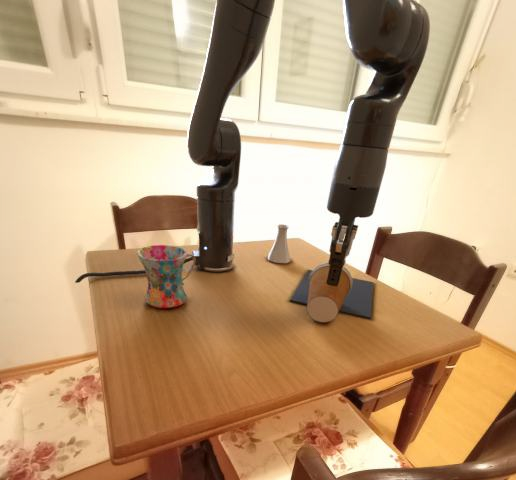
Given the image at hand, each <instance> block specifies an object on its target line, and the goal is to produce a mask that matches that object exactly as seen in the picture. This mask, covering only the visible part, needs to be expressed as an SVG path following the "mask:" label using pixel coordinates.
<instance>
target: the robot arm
mask: <svg viewBox="0 0 516 480" xmlns="http://www.w3.org/2000/svg"><path fill="white" fill-rule="evenodd" d="M275 3H276V0H216V3H215V9H214V14H213V19H212V26H211V33H210V39H209V43H208V48H207V53H206V59H205V63H204V66H203V72H202V76H201V81H200V84H199V88H198V90H197V95H196V99H195V102H194V105H193V109H192V112H191V116H190V119H189V124H188V130H187V138H186V145H187V153H188V156H189V158H190V160H191V161H192V163H194V164H195V165H197V166H201V167H212V170H211V173H210V175H209V176H208V177H206V179H204V180H202V181H199V183H198V184H197V185H196V216H197V217H196V219H197V226H196V250H192V253H191V254H192V255H193V256H194V257H195V259H196V263H195V266H198V269H199V271H206V272H210V273H212V272H213V273H221V272H228V271H230V270H231V269H233V267H234V263H233V262H234V261H233V260H234V259H235V253H234V232H235V231H234V230H235V229H234V228H235V205H236V204H235V202H236V201H235V199H236V192H237V189H238V187H239V181H240V169H241V158H242V157H241V156H242V136H241V133H240V129H239V127H238V125H237V123H235V122H234V121H233V120H232V119H228V118H223V117H222V115H223V112H224V109H225V107H226V103H227V102H228V99H229V97H230V96H231V94H232V92H234V90H235V88H236V87H237V85H238V84H239V83H240V82H241V81H242V80H243V78H244V77H245V76H246V74H247V73H248V72H249V70H250V69H251V67H253V65H254V63H255V62H256V61H257V59H258V57H259V56H260V54H261V51H262V49H263V46H264V43H265V39H266V36H267V32H268V29H269V26H270V23H271V19H272V15H273V11H274V8H275ZM342 3H343V4H342V9H343V16H344V17H343V18H344V28H345V37H346V42H347V45H348V48H349V50H350V53H351V55H352V57H353V58H354V60H355V61H356V63H357V64H358V65H360V66H361V67H362V68H364V69H368V70H370V71H373V74H372V76H371V78H370V82H369V85H368V87H367V88H366V92H365V93H363V94H360V95H357V96H355V97H354V98H353V99H352V100H351V101H350V103H349V105H348V108H347V110H346V111H347V112H346V116H345V119H344V124H343V130H342V135H341V140H340V145H339V149H338V153H337V154H336V159H335V162H334V168H333V172H332V178H331V183H330V188H329V193H328V198H327V203H326V204H327V205H326V209H327V211H328V212H330V213H332V214H335V215H338V217H339V218H338V221H335V222H334V224H332V228H331V233H330V235H331V241H330V246H329V259H328V262H329V265H330V268H329V273H328V277H327V282H326V283H327V284H328V285H331V286H338V284H339V281H340V277H341V272H342V268H343V266H344V267H345V264H346V263H347V260H346V259H347V257H348V256H350V253H351V250H352V246H353V242H354V240H355V238H356V236H357V232H358V230H359V229H358V228H359V225H358V224H355V222H356V218H361V219H362V218H363V219H364V218H369V217H371V216H372V215H373V214H374V211H375V208H376V204H377V200H378V197H379V193H380V189H381V187H382V182H383V180H384V179H383V178H384V174H385V170H386V167H387V160H388V155H389V149H390V146H391V143H392V139H393V135H394V131H395V127H396V125H397V119H398V116H399V113H400V111H401V109H402V107H403V105H404V103H405V101H406V99H407V98H408V95H409V93H410V90H411V89H412V87H413V84H414V82H415V80H416V78H417V76H418V73H419V71H420V69H421V66H422V64H423V62H424V59H425V56H426V53H427V50H428V46H429V45H428V44H429V40H430V31H431V21H430V16H429V13H428V11H427V9H426V7H424V6H423V5H422V4H420V3H419V2H417V1H416V0H342ZM191 261H193V258H192V257H191V256H189V257H186V258H185V261H184V264H186V263H189V262H191ZM184 264H183V265H184ZM127 275H146V272H145V269H141V270H140V269H139V270H121V271H120V270H119V271H107V272H86V273H83V274H82V275H79V277H77V279H75V281H74V283H76V284H78V283H81V282H82V281H83V280H84V279H86V278H89V277H111V276H113V277H114V276H127Z"/></svg>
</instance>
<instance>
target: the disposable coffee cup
mask: <svg viewBox="0 0 516 480" xmlns="http://www.w3.org/2000/svg"><path fill="white" fill-rule="evenodd" d="M329 268H330V265H329V261H325V262H322V263H320V264H318V265H316V267H314V268H313V269H311V270H312V272H311V274H310V277H309V285H310V287H309V294H308V301H307V305H306V313H307V314H308V316H309V317H310V318H311V320H313V321H316V322H319V323H329V322H332V321H334V320H335V319H336V318H337V316H338V315H339V313H340V312H339V310H340V308H341V306H342V304H343V301H344V299H345V297H346V295H347V294H348V293H349V291H350V290H351V287H352V282H353V281H352V278H353V277H352V274H351V272H350V270H349V269H348V268H347V267H345V265H344V266H343V268H342V272H341V277H340V281H339V284H338V286H331V285H328V284H327V283H326V282H327V277H328V273H329Z"/></svg>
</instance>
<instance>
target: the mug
mask: <svg viewBox="0 0 516 480" xmlns="http://www.w3.org/2000/svg"><path fill="white" fill-rule="evenodd" d="M136 255H137V257H138V259H139V261H140V263H141V265H142V268H143V270H145V272H146V274H145V275H146V281H147V290H146V294H145V297H144V300H145V302H146V303H147V304H148V305H149V306H152V307H153V308H159V309H171V308H177V307H179V306H181V305H183V304H185V303H186V301H187V300H188V296H187V293H186V292H185V290H184V285H185V283H184V282H183V281H185V280H186V279H187V278H189V276H190V275H191V274H192V272H193V271H194V268H195V267H196V265H195V263H196V259H195V257H194V256H193V255H192V253H188V252H187V250H186V249H184V248H182V247H180V246H176V245H167V244H153V245H148V246H144V247H142V248H139V249H138V250H137V252H136ZM189 257H192V258H193V260H192V264H191V266H190V268H189V270H188V272H186V274H185V275H184V276H183V268H184V261H185V259H187V258H189Z"/></svg>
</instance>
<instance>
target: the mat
mask: <svg viewBox="0 0 516 480" xmlns="http://www.w3.org/2000/svg"><path fill="white" fill-rule="evenodd" d="M312 270H313V269H307V271H306V273H305V274H304V276H303V278H302V280H301V281H300V283H299V284H298V286H297V288H296V290H295V291H294V293H293V294H292V295H291V298H290V299H289V302H290V303H294V304H295V303H296V304H301V305H305V306H307V301H308V294H309V287H310V285H309V277H310V274H311V272H312ZM352 281H353V282H352V287H351V290H350V291H349V293H348V294H347V295H346V297H345V299H344V301H343V304H342V306H341V308H340V310H339V312H338V313H341V314H346V315H351V316H355V317H358V318H363V319H368V320H371V319H372V308H373V292H374V281H369V280H363V279H360V278H359V279H358V278H353V277H352Z"/></svg>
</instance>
